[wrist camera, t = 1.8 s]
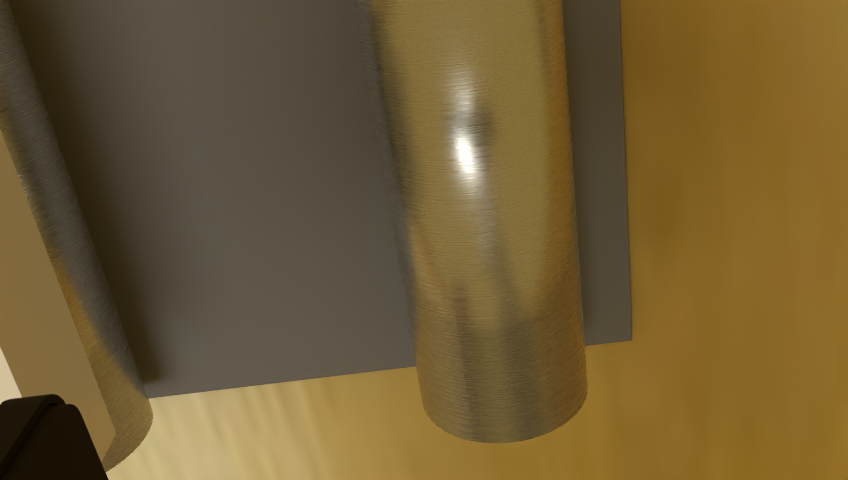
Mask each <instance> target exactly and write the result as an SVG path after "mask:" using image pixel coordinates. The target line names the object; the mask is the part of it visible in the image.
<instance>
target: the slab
mask: <svg viewBox="0 0 848 480" xmlns="http://www.w3.org/2000/svg"><path fill="white" fill-rule="evenodd" d="M46 394H56V395H59V396H60V397H61V398H62V399H63V400H64V401H65V403H66V404H73V405H75V406H76V407H77V408H78V409H79V411H80V413H81V415H82V417H83V419H84V422H85V424H86V427H87V429H88V431H89V434H90V436H91V439H92V441H93V444H94V446H95V448H96V451H97V453H98V456H99V458H100V460H101V462H102V460H103V458H104V456H105V454H106V452H107V450H108V449H109V447H110V445H111V443H112V441H113V439H114V437H115V435H116V431H115V429H114V426H113V423H112V421H111V418H110V416H109V413H108V410H107V408H106V405H105V402H104V400H103V397H102V395H101V392H100V389H99V387H98V384H97V381H96V379H95V376H94V374H93V371H92V368H91V366H90V363H89V360H88V358H87V355H86V353H85V350H84V347H83V345H82V342H81V340H80V337H79V334H78V332H77V329H76V326H75V324H74V321H73V319H72V316H71V313H70V311H69V308H68V305H67V303H66V300H65V298H64V295H63V292H62V290H61V287H60V284H59V282H58V279H57V277H56V274H55V271H54V269H53V266H52V263H51V261H50V258H49V256H48V253H47V250H46V248H45V245H44V242H43V240H42V237H41V235H40V232H39V229H38V227H37V224H36V221H35V219H34V216H33V214H32V211H31V208H30V206H29V203H28V201H27V198H26V195H25V193H24V190H23V187H22V185H21V182H20V180H19V177H18V174H17V172H16V169H15V166H14V164H13V161H12V159H11V156H10V153H9V151H8V148H7V145H6V143H5V140H4V138H3V135H2V132H1V130H0V404H1V403H2V402H3V401H5V400H8V399H14V398H22V397H30V396H38V395H46Z"/></svg>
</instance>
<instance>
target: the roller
mask: <svg viewBox="0 0 848 480" xmlns="http://www.w3.org/2000/svg"><path fill="white" fill-rule="evenodd" d="M0 130H1V132H2V135H3V138H4V140H5V143H6V145H7V148H8V151H9V153H10V156H11V159H12V161H13V164H14V166H15V169H16V172H17V174H18V177H19V180H20V182H21V185H22V187H23V190H24V193H25V195H26V198H27V201H28V203H29V206H30V208H31V211H32V214H33V216H34V219H35V221H36V224H37V227H38V229H39V232H40V235H41V237H42V240H43V242H44V245H45V248H46V250H47V253H48V256H49V258H50V261H51V263H52V266H53V269H54V271H55V274H56V277H57V279H58V282H59V284H60V287H61V290H62V292H63V295H64V298H65V300H66V303H67V305H68V308H69V311H70V313H71V316H72V319H73V321H74V324H75V326H76V329H77V332H78V334H79V337H80V340H81V342H82V345H83V347H84V350H85V353H86V355H87V358H88V360H89V363H90V366H91V368H92V371H93V374H94V376H95V379H96V381H97V384H98V387H99V389H100V392H101V395H102V397H103V400H104V402H105V405H106V408H107V410H108V413H109V416H110V418H111V421H112V423H113V426H114V429H115V431H116V435H115V437H114V439H113V441H112V443H111V445H110V447H109V449H108V450H107V452H106V454H105V456H104V458H103V460H102V462H101V463H102V465H103V468H104V470H105V472H107V471H109V470H110V469H112V468H113V467H115V466H116V465H117V464H119V463H120V462H121V461H123V460H124V459H125V458H126V457H128V456H129V455H130V454H131V453H132V452H133V451H134V450H135V449H136V448H137V447H138V446H139V445H140V443H141V442H142V441H143V440H144V438H145V437H146V435H147V433H148V432H149V429H150V427H151V424H152V419H153V412H152V408H151V405H150V402H149V400H148V397H147V394H146V391H145V388H144V385H143V383H142V380H141V377H140V374H139V371H138V368H137V365H136V363H135V360H134V357H133V354H132V351H131V348H130V346H129V343H128V340H127V337H126V334H125V331H124V329H123V326H122V323H121V320H120V317H119V314H118V312H117V309H116V306H115V303H114V300H113V297H112V294H111V292H110V289H109V286H108V283H107V280H106V277H105V275H104V272H103V269H102V266H101V263H100V260H99V258H98V255H97V252H96V249H95V246H94V243H93V241H92V238H91V235H90V232H89V229H88V226H87V224H86V221H85V218H84V215H83V212H82V209H81V206H80V204H79V201H78V198H77V195H76V192H75V189H74V187H73V184H72V181H71V178H70V175H69V172H68V170H67V167H66V164H65V161H64V158H63V155H62V153H61V150H60V147H59V144H58V141H57V138H56V135H55V133H54V130H53V127H52V124H51V121H50V118H49V116H48V113H47V110H46V107H45V104H44V101H43V99H42V96H41V93H40V90H39V87H38V84H37V82H36V79H35V76H34V73H33V70H32V67H31V65H30V62H29V59H28V56H27V53H26V50H25V47H24V45H23V42H22V39H21V36H20V33H19V30H18V28H17V25H16V22H15V19H14V16H13V13H12V11H11V8H10V5H9V2H8V0H0Z"/></svg>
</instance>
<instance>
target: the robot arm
mask: <svg viewBox="0 0 848 480" xmlns="http://www.w3.org/2000/svg"><path fill="white" fill-rule="evenodd" d="M0 480H108V477H107V475H106V473H105V470H104V468H103V465H102V463H101V460H100V458H99V456H98V453H97V451H96V448H95V446H94V444H93V441H92V439H91V436H90V434H89V431H88V429H87V427H86V424H85V422H84V419H83V417H82V415H81V413H80V411H79V409H78V408H77V407H76V406H75V405H73V404H66V403H65V401H64V400H63V399H62V398H61V397H60V396H59V395H56V394H46V395H38V396H30V397H22V398H14V399H8V400H5V401H3V402H2V403H1V404H0Z"/></svg>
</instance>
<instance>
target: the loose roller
mask: <svg viewBox="0 0 848 480" xmlns="http://www.w3.org/2000/svg"><path fill="white" fill-rule="evenodd" d="M352 2H353V8H354V14H355V19H356V25H357V31H358V36H359V42H360V48H361V54H362V59H363V65H364V71H365V77H366V82H367V88H368V94H369V99H370V105H371V111H372V117H373V122H374V128H375V134H376V139H377V145H378V151H379V157H380V162H381V168H382V174H383V180H384V185H385V191H386V197H387V202H388V208H389V214H390V220H391V225H392V231H393V237H394V242H395V248H396V254H397V260H398V265H399V271H400V277H401V282H402V288H403V294H404V300H405V305H406V311H407V317H408V323H409V328H410V334H411V340H412V345H413V351H414V357H415V363H416V368H417V374H418V380H419V385H420V391H421V397H422V403H423V406H424V409H425V411H426V413H427V415H428V417H429V418H430V419H431V420H432V421H433V422H434V423H435V424H436V425H437V426H438V427H440V428H441V429H443V430H444V431H446V432H448V433H450V434H452V435H454V436H457V437H460V438H463V439H467V440H471V441H477V442H484V443H509V442H517V441H523V440H527V439H532V438H535V437H538V436H541V435H544V434H546V433H548V432H551V431H553V430H555V429H557V428H558V427H560V426H562V425H563V424H565V423H566V422H567V421H569V420H570V419H571V418H572V417H573V416H574V415H575V414H576V413H577V412H578V411H579V410H580V408H581V407H582V405H583V403H584V401H585V399H586V396H587V389H588V385H587V370H586V355H585V340H584V325H583V310H582V295H581V280H580V265H579V250H578V235H577V220H576V205H575V190H574V175H573V160H572V145H571V130H570V115H569V100H568V85H567V70H566V55H565V40H564V25H563V10H562V0H352Z"/></svg>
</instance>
